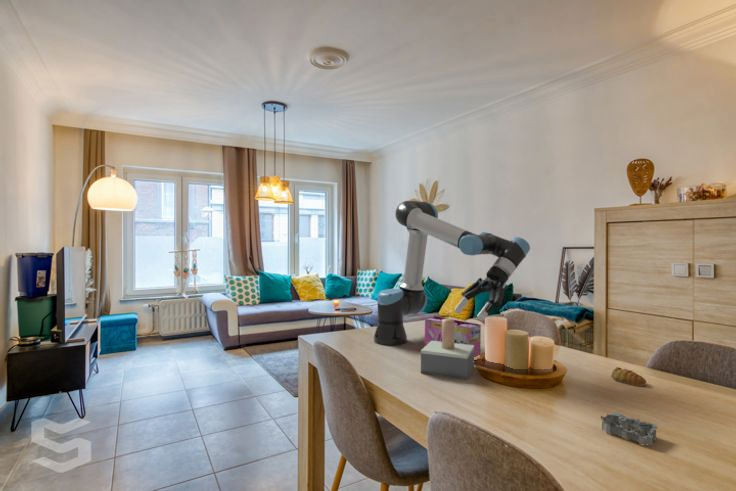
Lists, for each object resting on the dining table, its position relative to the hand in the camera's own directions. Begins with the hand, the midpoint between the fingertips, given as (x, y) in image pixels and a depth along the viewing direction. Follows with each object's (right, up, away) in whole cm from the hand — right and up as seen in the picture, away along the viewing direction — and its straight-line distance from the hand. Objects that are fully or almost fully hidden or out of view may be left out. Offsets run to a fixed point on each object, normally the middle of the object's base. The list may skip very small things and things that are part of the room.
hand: (467, 315), depth 141 cm
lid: (-7, -12, -2) cm, 14 cm away
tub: (-7, -19, -2) cm, 21 cm away
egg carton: (+27, -21, -48) cm, 58 cm away
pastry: (+50, -20, -13) cm, 55 cm away
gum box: (-2, -19, +17) cm, 26 cm away
